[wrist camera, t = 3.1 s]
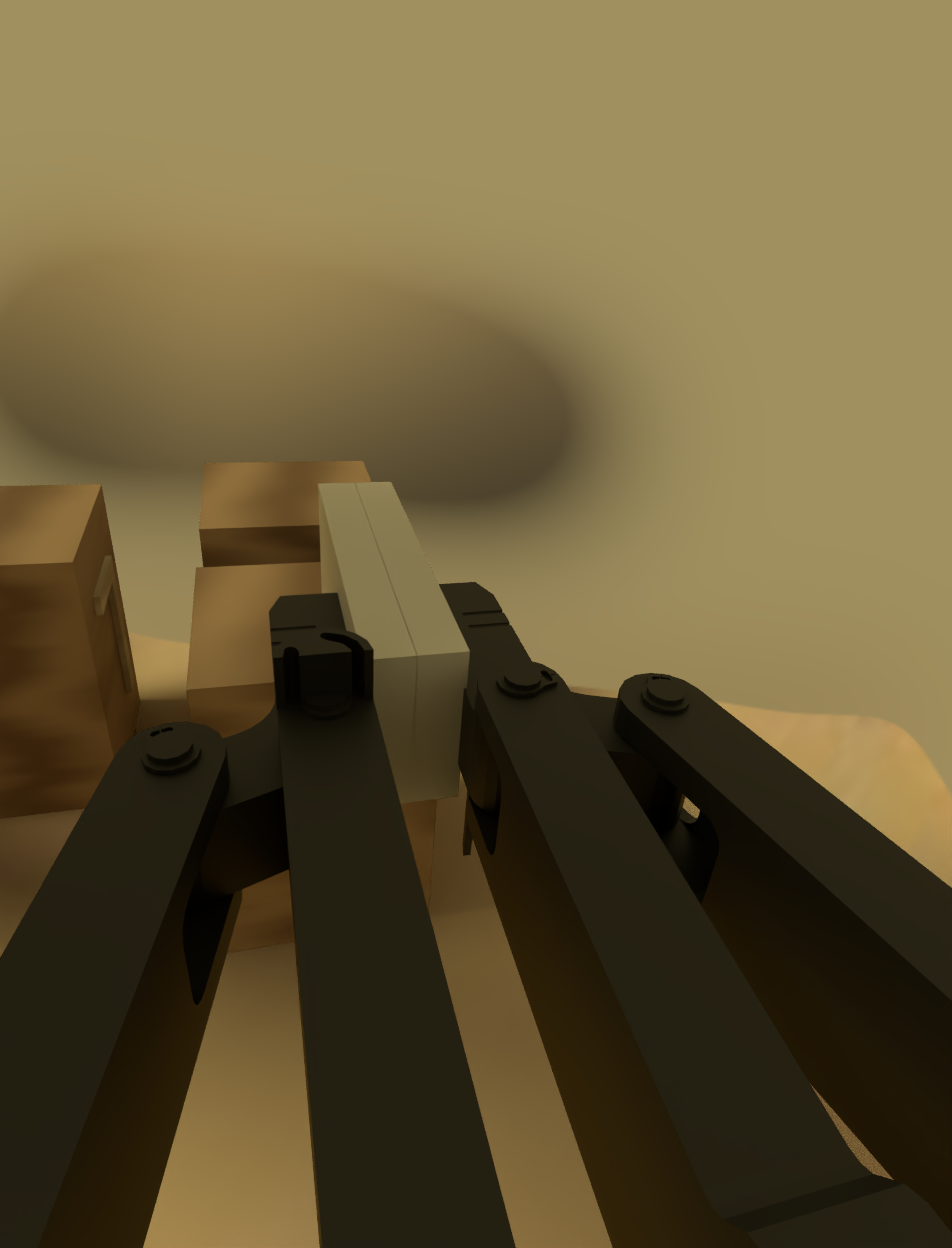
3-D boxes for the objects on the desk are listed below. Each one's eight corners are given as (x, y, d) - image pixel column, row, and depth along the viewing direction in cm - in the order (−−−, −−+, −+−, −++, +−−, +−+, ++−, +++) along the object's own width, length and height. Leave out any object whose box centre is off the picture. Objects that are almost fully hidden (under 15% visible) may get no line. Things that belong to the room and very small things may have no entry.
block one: (224, 755, 44) (199, 528, 37) (225, 664, 52) (204, 461, 44) (387, 738, 46) (393, 522, 39) (365, 653, 54) (367, 459, 47)
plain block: (223, 953, 33) (186, 689, 26) (224, 805, 41) (196, 567, 34) (427, 918, 36) (446, 667, 29) (394, 784, 43) (402, 558, 36)
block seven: (-76, 827, 38) (-178, 572, 31) (-25, 711, 46) (-97, 485, 38) (129, 803, 40) (80, 561, 33) (145, 697, 48) (108, 482, 41)
